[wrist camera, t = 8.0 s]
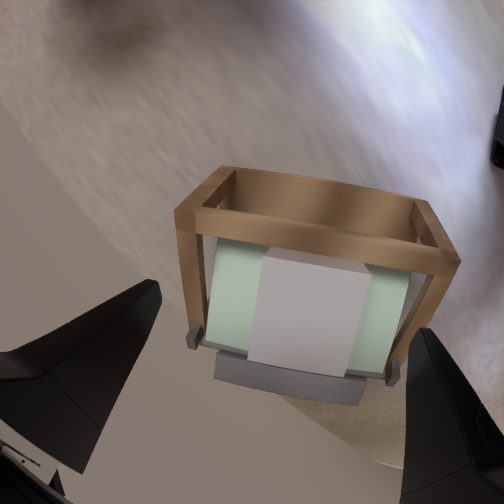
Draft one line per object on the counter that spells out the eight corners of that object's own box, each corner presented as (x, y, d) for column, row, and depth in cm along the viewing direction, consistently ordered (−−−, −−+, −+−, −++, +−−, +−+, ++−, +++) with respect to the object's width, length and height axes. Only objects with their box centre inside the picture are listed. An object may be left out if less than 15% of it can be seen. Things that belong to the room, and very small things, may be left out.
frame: (427, 201, 18) (469, 277, 11) (385, 311, 25) (391, 395, 18) (221, 165, 21) (161, 223, 14) (222, 281, 27) (185, 356, 20)
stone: (356, 254, 16) (371, 274, 11) (338, 333, 17) (343, 377, 12) (277, 240, 17) (262, 255, 12) (265, 320, 18) (247, 359, 13)
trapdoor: (411, 264, 17) (417, 267, 16) (371, 398, 18) (373, 407, 17) (219, 230, 19) (213, 231, 18) (203, 366, 20) (197, 373, 19)
